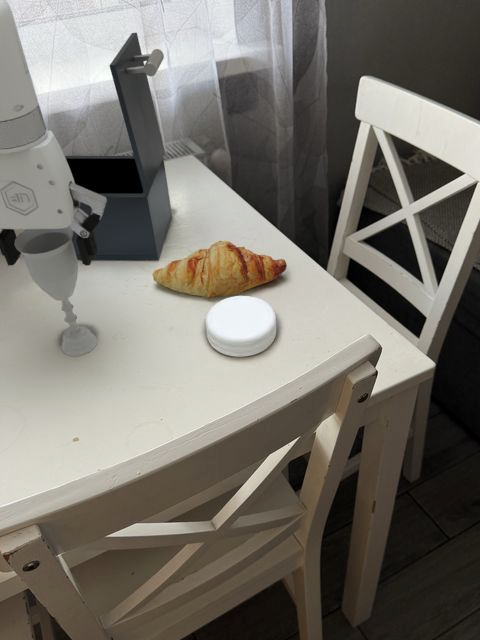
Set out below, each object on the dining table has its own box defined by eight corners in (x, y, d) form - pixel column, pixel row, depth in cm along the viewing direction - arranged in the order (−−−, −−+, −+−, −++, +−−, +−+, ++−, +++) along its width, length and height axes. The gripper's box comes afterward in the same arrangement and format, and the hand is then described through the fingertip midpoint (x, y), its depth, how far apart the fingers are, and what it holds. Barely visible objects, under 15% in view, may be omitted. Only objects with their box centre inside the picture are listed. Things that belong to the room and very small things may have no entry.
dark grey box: (54, 260, 101) (33, 196, 93) (77, 216, 111) (60, 155, 103) (158, 260, 100) (147, 196, 92) (172, 216, 110) (163, 155, 102)
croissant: (157, 313, 95) (147, 293, 88) (154, 257, 98) (145, 233, 91) (288, 301, 96) (290, 280, 88) (282, 246, 99) (283, 221, 91)
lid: (109, 65, 79) (146, 61, 78) (131, 32, 89) (165, 29, 88) (144, 194, 91) (176, 191, 91) (160, 153, 102) (189, 150, 101)
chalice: (79, 321, 89) (46, 216, 77) (114, 336, 87) (85, 230, 74) (43, 351, 85) (1, 244, 72) (78, 367, 82) (41, 260, 70)
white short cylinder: (215, 309, 90) (213, 291, 88) (280, 315, 89) (280, 296, 87) (200, 355, 83) (197, 336, 81) (270, 361, 82) (270, 343, 79)
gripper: (-87, 142, 61) (-26, 276, 73) (77, 140, 60) (112, 277, 72) (-55, 113, 67) (-3, 242, 79) (96, 111, 66) (126, 242, 77)
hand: (52, 259), depth 75 cm, fingers open, 9 cm apart
